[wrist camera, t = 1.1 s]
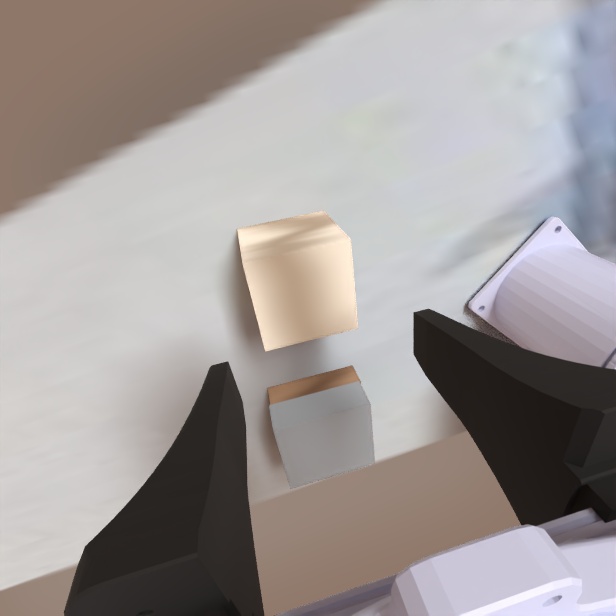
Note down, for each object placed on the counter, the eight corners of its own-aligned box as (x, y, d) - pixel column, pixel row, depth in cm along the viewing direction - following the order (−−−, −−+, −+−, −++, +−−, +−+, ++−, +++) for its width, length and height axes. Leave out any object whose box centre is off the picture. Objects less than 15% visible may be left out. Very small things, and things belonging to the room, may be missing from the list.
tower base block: (350, 362, 27) (360, 381, 25) (356, 419, 31) (366, 440, 29) (266, 384, 27) (270, 405, 25) (282, 440, 30) (287, 463, 28)
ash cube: (323, 210, 21) (350, 239, 16) (332, 286, 23) (357, 328, 19) (237, 228, 20) (242, 263, 16) (256, 304, 23) (265, 351, 18)
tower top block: (359, 381, 25) (370, 403, 23) (364, 440, 29) (374, 463, 27) (268, 405, 25) (272, 430, 23) (285, 462, 28) (290, 488, 26)
